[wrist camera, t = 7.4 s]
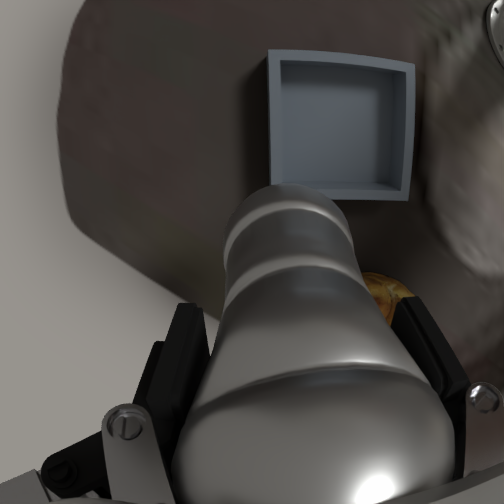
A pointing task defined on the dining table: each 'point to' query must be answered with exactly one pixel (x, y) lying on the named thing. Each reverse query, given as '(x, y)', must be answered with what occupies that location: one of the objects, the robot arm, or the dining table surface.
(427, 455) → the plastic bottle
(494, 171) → the dining table surface
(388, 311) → the bread roll
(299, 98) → the tray
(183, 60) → the dining table surface
